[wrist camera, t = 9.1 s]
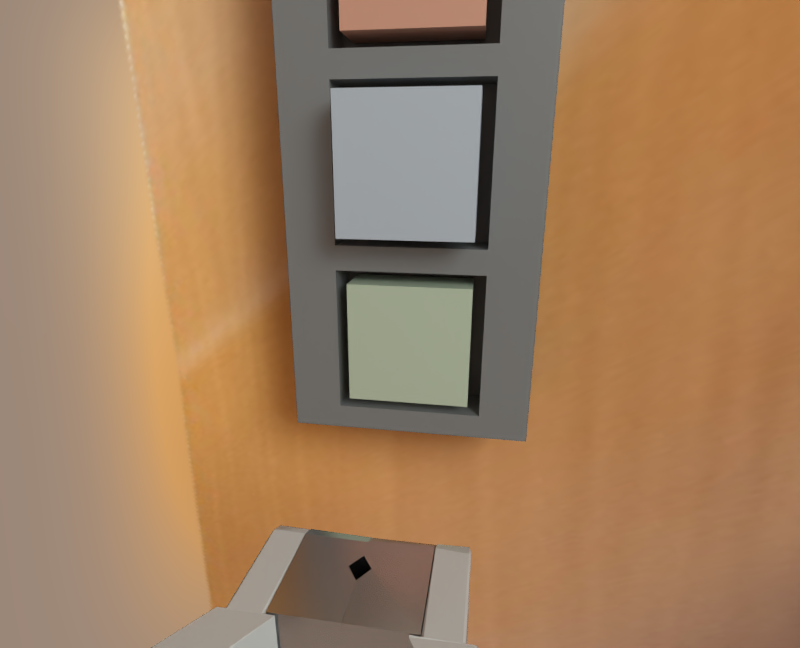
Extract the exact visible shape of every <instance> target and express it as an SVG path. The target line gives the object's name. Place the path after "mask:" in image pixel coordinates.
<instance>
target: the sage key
mask: <svg viewBox="0 0 800 648" xmlns="http://www.w3.org/2000/svg"><path fill="white" fill-rule="evenodd" d="M473 288H474V278H449V277H423V276H396V275H370V274H358V275H357V276H355V277H354V278H353V279H352V280H351V281H350V282H349V283H347V319H348V355H349V390H350V398H353V399H366V400H380V401H393V402H406V403H420V404H433V405H446V406H460V407H467V403H468V390H469V371H470V350H471V329H472V309H473Z"/></svg>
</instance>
